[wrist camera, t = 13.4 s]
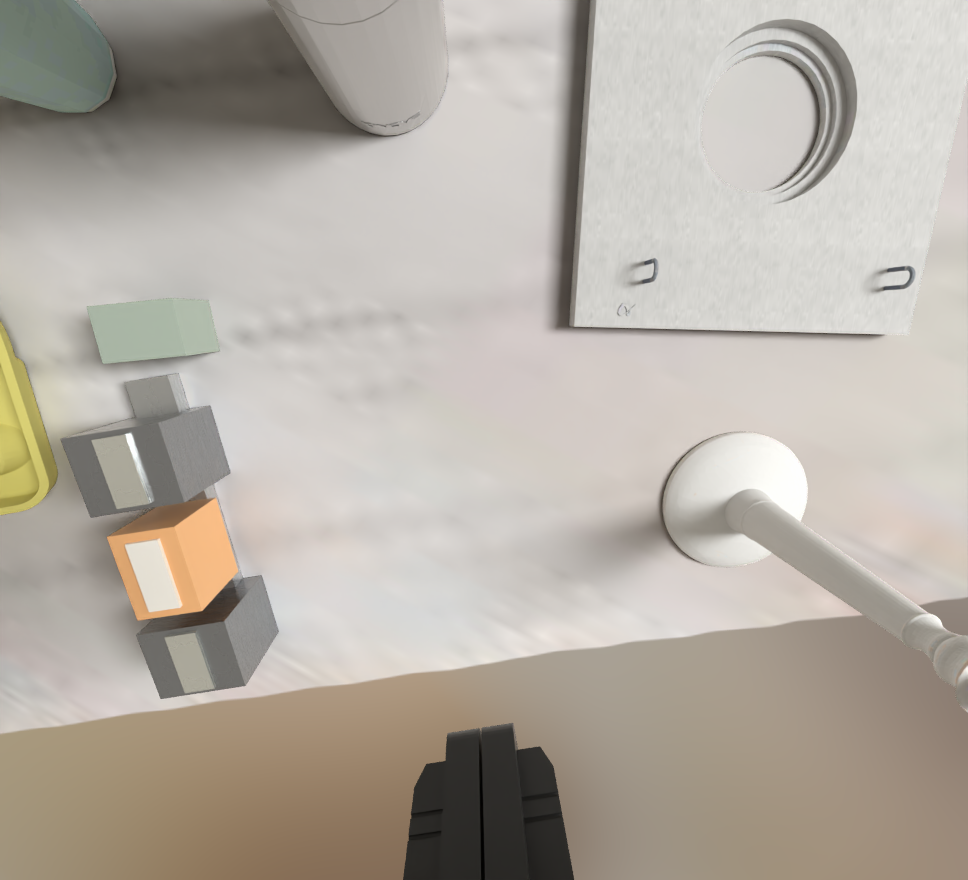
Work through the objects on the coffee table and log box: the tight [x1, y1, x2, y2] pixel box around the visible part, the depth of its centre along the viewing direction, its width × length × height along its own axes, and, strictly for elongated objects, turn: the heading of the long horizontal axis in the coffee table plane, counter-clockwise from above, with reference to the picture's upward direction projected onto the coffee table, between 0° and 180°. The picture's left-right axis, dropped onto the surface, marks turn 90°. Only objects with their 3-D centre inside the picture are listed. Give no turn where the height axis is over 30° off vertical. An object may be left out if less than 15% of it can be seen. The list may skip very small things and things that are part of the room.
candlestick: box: [663, 431, 968, 712], centre depth 30 cm, size 13×13×30 cm
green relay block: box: [87, 298, 220, 364], centre depth 37 cm, size 4×6×5 cm, turn 96°
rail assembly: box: [61, 373, 279, 699], centre depth 40 cm, size 26×7×7 cm, turn 9°
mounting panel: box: [569, 0, 968, 335], centre depth 35 cm, size 27×5×30 cm
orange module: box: [107, 497, 238, 620], centre depth 39 cm, size 7×5×6 cm
